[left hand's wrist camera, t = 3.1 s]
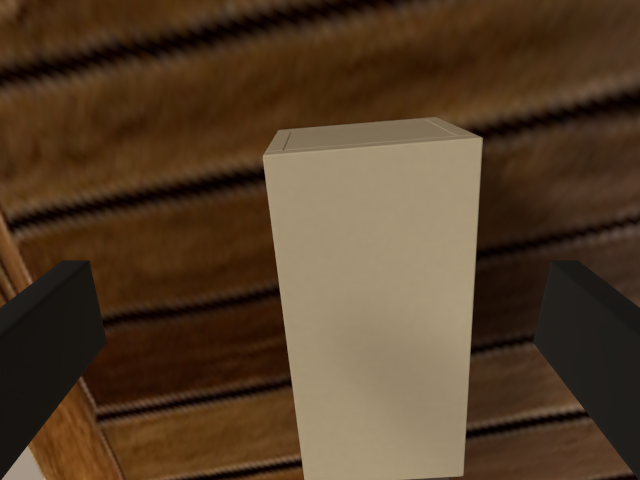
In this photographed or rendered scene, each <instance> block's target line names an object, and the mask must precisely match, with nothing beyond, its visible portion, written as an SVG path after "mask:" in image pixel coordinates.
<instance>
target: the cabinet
mask: <svg viewBox="0 0 640 480" xmlns="http://www.w3.org/2000/svg"><path fill="white" fill-rule="evenodd" d="M482 142H483V139H482V137H479V136H477V135H475V134H473V133H470V132H468V131H466V130H464V129H461V128H459V127H457V126H455V125H452V124H450V123H448V122H446V121H444V120H441V119H439V118H437V117H430V118H418V119H406V120H394V121H382V122H370V123H358V124H346V125H334V126H322V127H310V128H297V129H285V130H278V132H277V134H276V135H275V137H274V139H273V140H272V142H271V144H270V145H269V147H268V148H267V150H266V152H265V153H264V155H263V162H264V170H265V178H266V186H267V193H268V201H269V209H270V216H271V224H272V232H273V240H274V247H275V255H276V263H277V271H278V278H279V286H280V294H281V301H282V309H283V317H284V325H285V332H286V340H287V348H288V356H289V363H290V371H291V379H292V386H293V394H294V402H295V410H296V417H297V425H298V433H299V441H300V448H301V456H302V464H303V471H304V479H305V480H407V479H424V478H440V477H457V476H463V472H464V454H465V437H466V420H467V402H468V385H469V368H470V350H471V333H472V316H473V298H474V281H475V263H476V246H477V229H478V211H479V194H480V177H481V159H482Z"/></svg>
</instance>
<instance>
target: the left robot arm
mask: <svg viewBox="0 0 640 480" xmlns="http://www.w3.org/2000/svg"><path fill="white" fill-rule="evenodd" d="M106 343H107V340H106V336H105V331H104V327H103V322H102V317H101V313H100V308H99V303H98V299H97V294H96V290H95V285H94V280H93V276H92V271H91V267H90V262H89V261H61V262H60V263H59V264H57V265H56V266H55V267H53V268H52V269H51V270H49V271H48V272H47V273H45V274H44V275H43V276H42V277H40V278H39V279H38V280H36V281H35V282H34V283H32V284H31V285H30V286H28V287H27V288H26V289H24V290H23V291H22V292H21V293H19V294H18V295H17V296H15V297H14V298H13V299H11V300H10V301H9V302H7V303H6V304H5V305H3V306H2V307H1V308H0V480H2V478H3V477H4V475H5V474H6V473H7V472H8V470H9V469H10V468H11V466H12V465H13V464H14V463H15V461H16V460H17V459H18V457H19V456H20V455H21V453H22V452H23V451H24V450H25V448H26V447H27V446H28V444H29V443H30V442H31V440H32V439H33V438H34V437H35V435H36V434H37V433H38V431H39V430H40V429H41V427H42V426H43V425H44V423H45V422H46V421H47V420H48V418H49V417H50V416H51V414H52V413H53V412H54V410H55V409H56V408H57V407H58V405H59V404H60V403H61V401H62V400H63V399H64V397H65V396H66V395H67V394H68V392H69V391H70V390H71V388H72V387H73V386H74V384H75V383H76V382H77V380H78V379H79V378H80V377H81V375H82V374H83V373H84V371H85V370H86V369H87V367H88V366H89V365H90V364H91V362H92V361H93V360H94V358H95V357H96V356H97V354H98V353H99V352H100V351H101V349H102V348H103V347H104V345H105V344H106ZM533 343H534V344H535V345H536V347H537V348H538V349H539V351H540V352H541V353H542V354H543V356H544V357H545V358H546V360H547V361H548V362H549V364H550V365H551V366H552V367H553V369H554V370H555V371H556V373H557V374H558V375H559V377H560V378H561V379H562V380H563V382H564V383H565V384H566V386H567V387H568V388H569V390H570V391H571V392H572V394H573V395H574V396H575V397H576V399H577V400H578V401H579V403H580V404H581V405H582V407H583V408H584V409H585V410H586V412H587V413H588V414H589V416H590V417H591V418H592V420H593V421H594V422H595V423H596V425H597V426H598V427H599V429H600V430H601V431H602V433H603V434H604V435H605V437H606V438H607V439H608V440H609V442H610V443H611V444H612V446H613V447H614V448H615V450H616V451H617V452H618V453H619V455H620V456H621V457H622V459H623V460H624V461H625V463H626V464H627V465H628V466H629V468H630V469H631V470H632V472H633V473H634V474H635V476H636V477H637V478H638V480H640V308H639V307H638V306H637V305H635V304H634V303H633V302H631V301H630V300H629V299H627V298H626V297H625V296H623V295H622V294H621V293H619V292H618V291H617V290H616V289H614V288H613V287H612V286H610V285H609V284H608V283H606V282H605V281H604V280H602V279H601V278H600V277H598V276H597V275H596V274H595V273H593V272H592V271H591V270H589V269H588V268H587V267H585V266H584V265H583V264H581V263H580V262H579V261H551V262H550V267H549V271H548V276H547V280H546V285H545V290H544V294H543V299H542V303H541V308H540V313H539V317H538V322H537V327H536V331H535V336H534V340H533Z"/></svg>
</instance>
